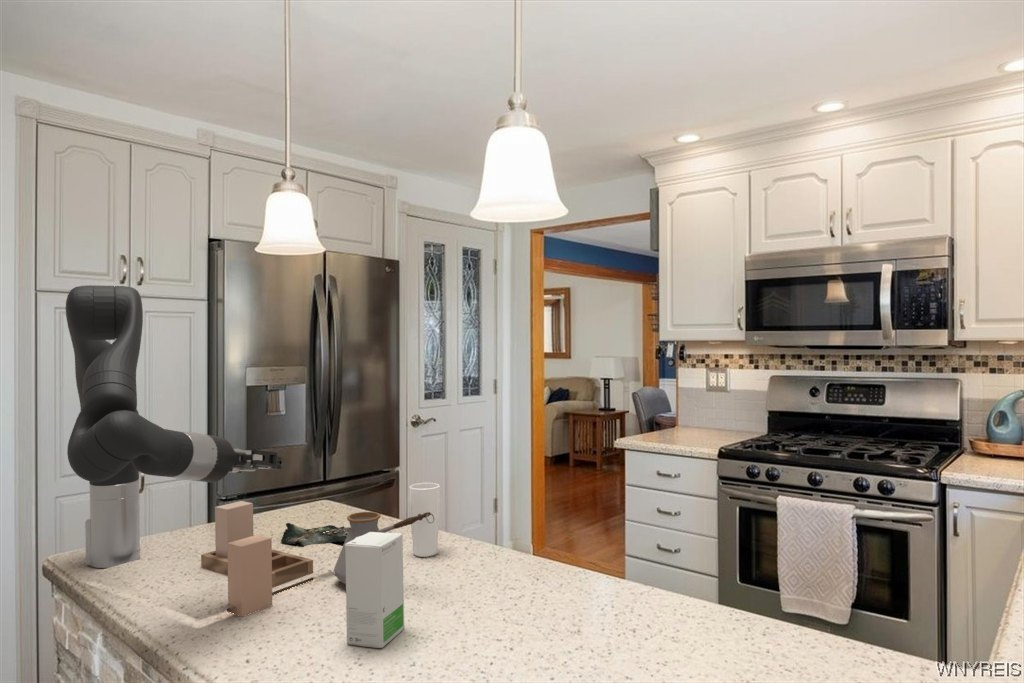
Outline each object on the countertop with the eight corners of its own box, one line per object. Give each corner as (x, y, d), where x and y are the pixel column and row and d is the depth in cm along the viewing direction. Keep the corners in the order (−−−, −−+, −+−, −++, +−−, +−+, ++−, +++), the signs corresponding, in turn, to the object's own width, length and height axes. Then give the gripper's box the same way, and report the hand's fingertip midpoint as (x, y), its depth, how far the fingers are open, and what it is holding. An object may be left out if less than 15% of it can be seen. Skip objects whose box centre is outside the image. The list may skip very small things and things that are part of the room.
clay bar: (228, 612, 117) (227, 543, 117) (258, 600, 122) (257, 534, 122) (242, 617, 115) (241, 546, 115) (272, 605, 120) (271, 538, 120)
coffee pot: (321, 587, 128) (320, 508, 128) (359, 568, 139) (358, 495, 139) (416, 605, 119) (415, 520, 119) (449, 583, 130) (448, 505, 130)
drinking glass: (447, 552, 149) (446, 484, 149) (427, 561, 143) (426, 490, 143) (423, 547, 153) (422, 481, 152) (403, 555, 147) (402, 486, 147)
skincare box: (381, 650, 102) (380, 547, 102) (343, 645, 104) (341, 544, 104) (406, 627, 110) (405, 532, 110) (369, 623, 112) (368, 529, 112)
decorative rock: (321, 513, 170) (371, 513, 165) (321, 537, 170) (372, 538, 164) (268, 527, 153) (323, 528, 147) (269, 555, 152) (324, 557, 147)
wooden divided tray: (201, 574, 136) (200, 554, 136) (244, 560, 145) (244, 542, 145) (269, 596, 124) (269, 574, 124) (313, 580, 132) (313, 559, 132)
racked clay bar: (215, 566, 137) (215, 507, 137) (242, 557, 142) (241, 500, 142) (227, 569, 135) (226, 509, 135) (253, 561, 140) (253, 503, 140)
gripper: (235, 429, 108) (294, 441, 123) (162, 437, 112) (228, 448, 127) (231, 477, 106) (293, 483, 121) (157, 483, 110) (226, 489, 124)
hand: (260, 465), depth 124 cm, fingers open, 8 cm apart
